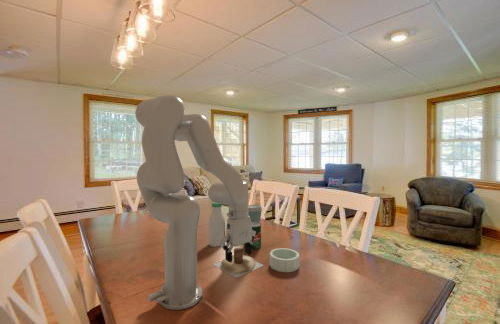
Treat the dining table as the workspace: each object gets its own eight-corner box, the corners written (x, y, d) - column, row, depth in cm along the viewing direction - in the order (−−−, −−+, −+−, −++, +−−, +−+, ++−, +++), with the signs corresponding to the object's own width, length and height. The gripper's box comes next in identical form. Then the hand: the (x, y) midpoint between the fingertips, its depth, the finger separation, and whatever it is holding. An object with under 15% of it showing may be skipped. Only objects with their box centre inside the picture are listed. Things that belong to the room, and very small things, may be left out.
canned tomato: (252, 252, 111) (253, 227, 110) (240, 247, 116) (240, 224, 116) (264, 247, 117) (264, 223, 116) (252, 243, 122) (252, 220, 121)
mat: (235, 279, 88) (235, 277, 88) (212, 265, 98) (212, 264, 98) (264, 266, 97) (264, 265, 97) (240, 255, 107) (240, 254, 107)
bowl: (286, 276, 90) (286, 262, 90) (264, 266, 98) (264, 253, 98) (304, 266, 97) (304, 254, 97) (282, 257, 105) (282, 246, 105)
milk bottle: (222, 248, 115) (222, 204, 114) (206, 247, 117) (206, 204, 116) (227, 242, 123) (227, 201, 122) (212, 241, 124) (211, 200, 123)
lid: (236, 276, 88) (236, 260, 88) (214, 264, 98) (214, 249, 98) (262, 265, 97) (262, 250, 97) (240, 255, 107) (240, 241, 106)
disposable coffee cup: (239, 234, 134) (239, 206, 133) (246, 228, 144) (246, 202, 143) (258, 237, 130) (259, 208, 129) (264, 230, 140) (264, 204, 140)
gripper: (226, 220, 88) (226, 268, 89) (261, 211, 100) (261, 253, 101) (214, 216, 93) (214, 261, 94) (248, 208, 105) (248, 248, 106)
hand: (238, 257), depth 98 cm, fingers open, 9 cm apart
